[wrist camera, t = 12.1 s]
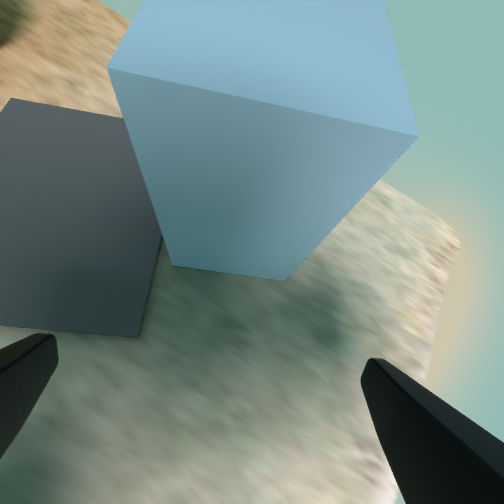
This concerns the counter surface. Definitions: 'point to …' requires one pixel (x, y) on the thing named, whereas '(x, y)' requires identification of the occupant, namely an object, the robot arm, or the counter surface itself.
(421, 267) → the counter surface
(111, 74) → the light blue rectangular block
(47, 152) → the mat
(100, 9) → the counter surface
